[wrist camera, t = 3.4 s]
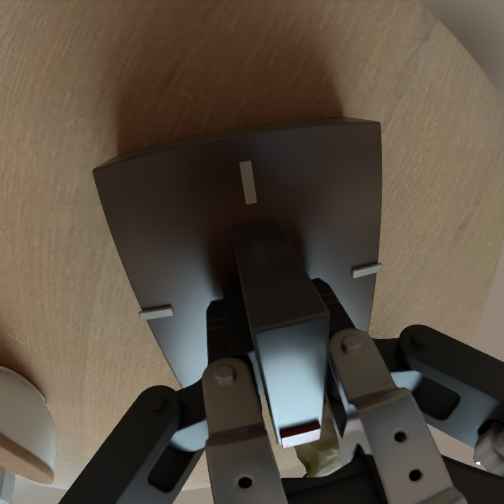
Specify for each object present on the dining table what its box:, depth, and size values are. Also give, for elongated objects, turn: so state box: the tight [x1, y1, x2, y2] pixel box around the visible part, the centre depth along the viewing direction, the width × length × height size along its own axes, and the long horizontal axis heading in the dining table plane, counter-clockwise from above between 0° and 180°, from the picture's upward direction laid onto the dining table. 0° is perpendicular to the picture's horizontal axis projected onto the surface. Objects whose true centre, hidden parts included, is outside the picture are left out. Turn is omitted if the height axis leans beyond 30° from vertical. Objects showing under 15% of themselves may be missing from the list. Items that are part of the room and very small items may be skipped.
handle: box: [231, 220, 329, 448], centre depth 9 cm, size 6×2×5 cm, turn 9°
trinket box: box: [0, 366, 57, 484], centre depth 13 cm, size 11×11×9 cm
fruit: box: [294, 402, 342, 478], centre depth 20 cm, size 9×9×8 cm
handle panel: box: [92, 117, 382, 389], centre depth 12 cm, size 12×10×3 cm
